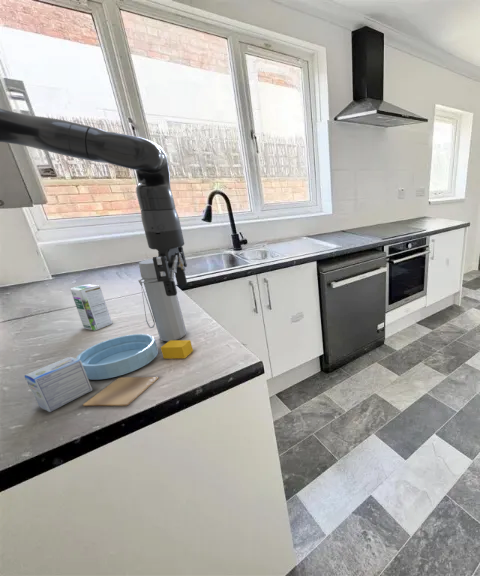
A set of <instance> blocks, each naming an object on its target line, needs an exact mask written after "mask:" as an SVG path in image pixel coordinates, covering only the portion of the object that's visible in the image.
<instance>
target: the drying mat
mask: <svg viewBox="0 0 480 576" xmlns="http://www.w3.org/2000/svg"><path fill="white" fill-rule="evenodd" d="M159 379H160V378H159V376H127V377H125V376H123V377H121V376H118V378H116V379H115V380H113V381H112V382H111V383H110V384H108V385H107V386H105V387H104V388H103V389H101V390H100V391H99V392H98V393H96V394H95V395H93V396H92V397H91V398H89V399H88V400H87V401H86V402H84V403H82V407H128V406H129V405H130V404H131V403H132V402H133V401H135V400H136V399H138V397H139V396H141V395H142V394H143V393H144V392H145V391H146V390H147V389H149V387H151V386H152V385H153V384H154V383H155V382H156V381H158V380H159Z"/></svg>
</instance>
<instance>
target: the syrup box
mask: <svg viewBox="0 0 480 576" xmlns="http://www.w3.org/2000/svg"><path fill="white" fill-rule="evenodd" d="M69 291H70V294H71V296H72V299H73V301H74V305H75V307H76V310H77V314H78V316H79V318H80V322H81V324H82V327H83V329H85V330H89V331H94V332H95V331H98V330H100V329H102V328H106V327H107V326H110V325H113V321H112V318H111V314H110V312H109V309H108V305H107V303H106V299H105V295H104V293H103V290H102V288H101V285H100V284H97V285H96V284H90V283H88V284H82V285H78V286H74V287H71V288H69Z"/></svg>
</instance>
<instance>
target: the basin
mask: <svg viewBox="0 0 480 576" xmlns="http://www.w3.org/2000/svg"><path fill="white" fill-rule="evenodd" d="M158 354H159V349H158V345H157V342H156V339H155V337H154V336H153V335H151V334H147V333H134V334H133V333H132V334H126V335H121V336H117V337H113V338H110V339H107V340H104V341H100V342H98V343H96V344H94V345H92V346H90V347H88V348H86V349H84V350H82V351H81V353H79V354H78V355H77V356H76V358H75V359H78V360H81V362H82V365H83V367H84V370H85V372H86V375H87V378H88V380H89V381H91V380H93V381H95V380H96V381H97V380H106V379H111V378H116V377H121V376H124V375H126V374H129V373H132V372H134V371H136V370H139V369H141V368H144V366H147V365H148V364H149V363H151V362H152V361H153V360H155V358H156V357H157V356H158Z"/></svg>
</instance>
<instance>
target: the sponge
mask: <svg viewBox="0 0 480 576" xmlns="http://www.w3.org/2000/svg"><path fill="white" fill-rule="evenodd" d="M193 349H194V348H193V345H192V341H191V339H181V340H180V339H178V340H170V341H166V343H164V344H162V346H161V347H160V351H161V355H162V357H163V358H162V359H164V360H165V359H166V360H167V359H170V360H172V359H178V360H179V359H186V358H187V357H188V356H189V355H191V354H192V353H194V350H193Z"/></svg>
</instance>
